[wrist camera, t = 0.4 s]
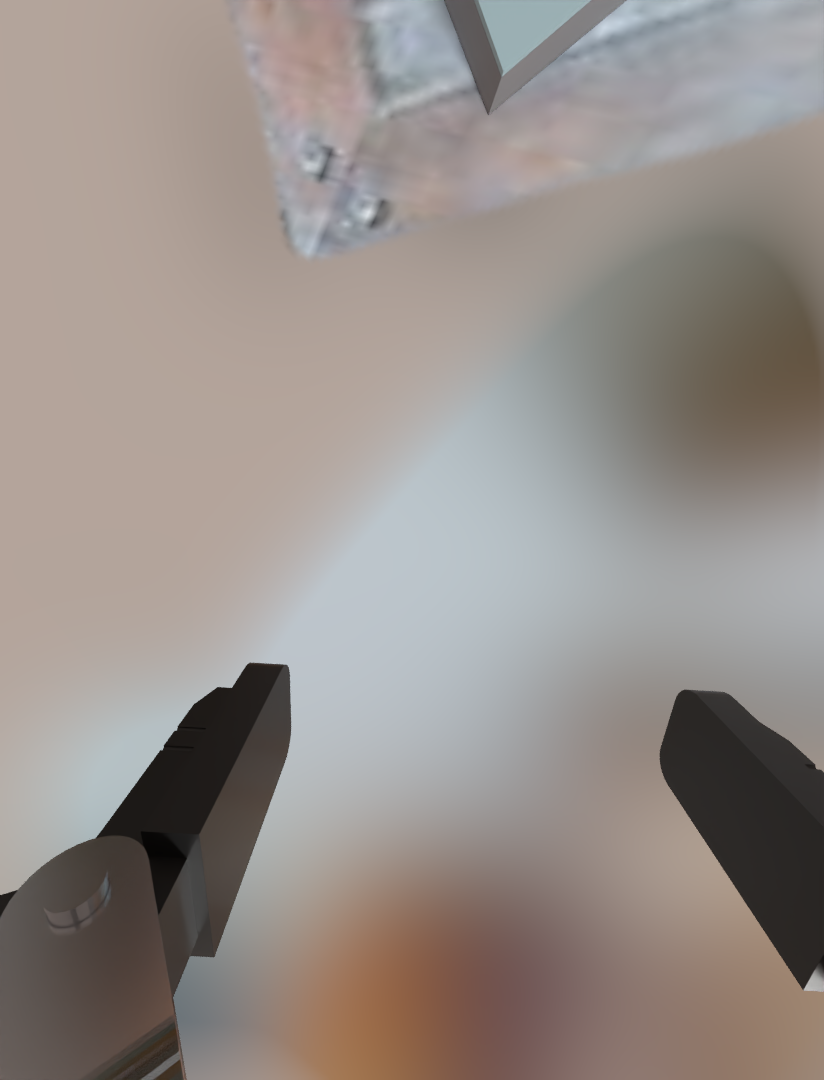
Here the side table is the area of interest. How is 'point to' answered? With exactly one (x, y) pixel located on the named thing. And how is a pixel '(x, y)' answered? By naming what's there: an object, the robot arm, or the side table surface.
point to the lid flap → (522, 25)
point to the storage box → (504, 87)
